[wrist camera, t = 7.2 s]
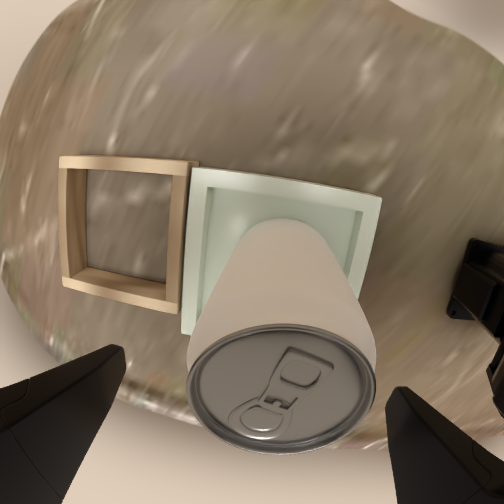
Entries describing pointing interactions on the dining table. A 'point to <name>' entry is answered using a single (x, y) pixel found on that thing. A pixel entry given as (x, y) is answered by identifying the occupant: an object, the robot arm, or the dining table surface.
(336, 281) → the can
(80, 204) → the collar
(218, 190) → the tray
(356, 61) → the dining table surface
